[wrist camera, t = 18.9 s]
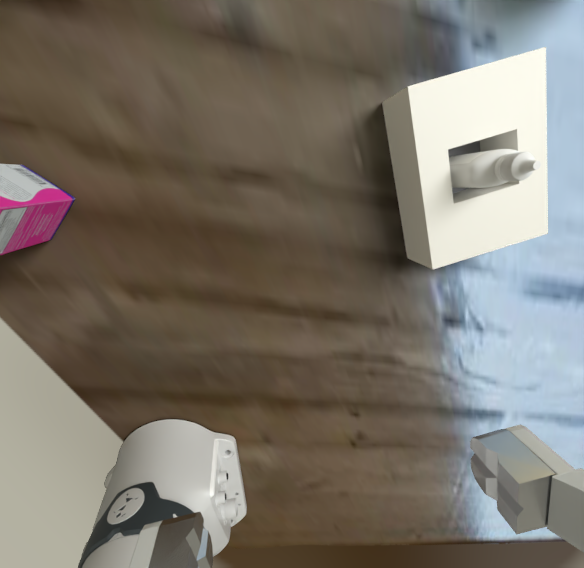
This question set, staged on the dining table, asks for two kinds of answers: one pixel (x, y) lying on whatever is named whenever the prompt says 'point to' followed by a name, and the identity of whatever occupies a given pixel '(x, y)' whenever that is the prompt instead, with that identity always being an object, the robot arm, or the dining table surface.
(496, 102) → the holder block
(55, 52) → the dining table surface
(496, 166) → the white plastic bottle
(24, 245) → the supplement box
